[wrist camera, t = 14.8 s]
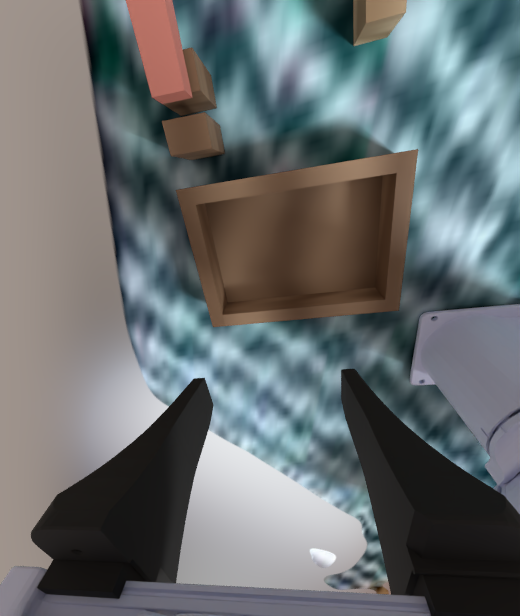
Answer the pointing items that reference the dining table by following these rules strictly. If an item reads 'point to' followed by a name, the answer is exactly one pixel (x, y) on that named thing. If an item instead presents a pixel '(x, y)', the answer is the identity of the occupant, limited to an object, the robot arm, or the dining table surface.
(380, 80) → the dining table surface
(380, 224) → the toolbox
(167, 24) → the pink bar
